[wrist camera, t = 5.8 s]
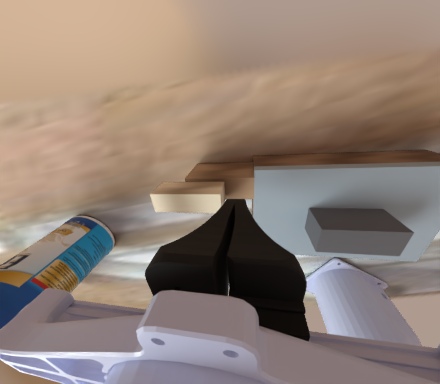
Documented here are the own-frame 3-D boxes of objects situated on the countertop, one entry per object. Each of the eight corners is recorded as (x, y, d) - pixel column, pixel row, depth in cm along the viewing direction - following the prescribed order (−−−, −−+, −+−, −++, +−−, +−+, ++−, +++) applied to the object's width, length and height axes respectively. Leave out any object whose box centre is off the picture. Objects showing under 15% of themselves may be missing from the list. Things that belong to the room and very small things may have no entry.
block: (224, 181, 15) (220, 194, 13) (225, 198, 16) (222, 213, 14) (162, 182, 16) (149, 194, 14) (166, 198, 17) (155, 211, 14)
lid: (456, 157, 13) (555, 182, 9) (402, 247, 18) (450, 292, 14) (253, 163, 16) (256, 185, 12) (252, 240, 20) (253, 276, 16)
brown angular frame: (424, 149, 15) (485, 165, 12) (383, 231, 20) (417, 261, 16) (196, 158, 19) (183, 171, 15) (206, 225, 24) (198, 249, 20)
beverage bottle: (107, 257, 31) (-71, 451, 14) (65, 231, 29) (-203, 418, 12) (125, 235, 27) (-88, 463, 10) (78, 204, 26) (-283, 417, 8)
